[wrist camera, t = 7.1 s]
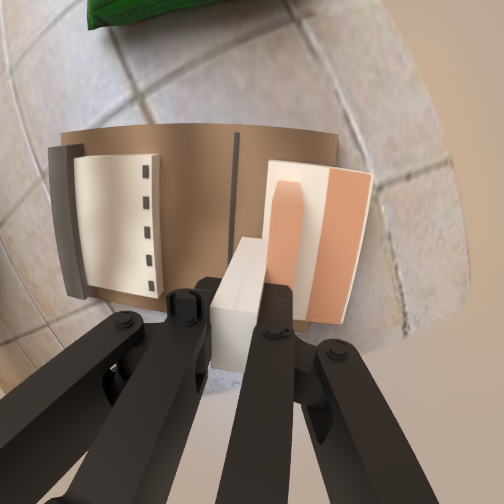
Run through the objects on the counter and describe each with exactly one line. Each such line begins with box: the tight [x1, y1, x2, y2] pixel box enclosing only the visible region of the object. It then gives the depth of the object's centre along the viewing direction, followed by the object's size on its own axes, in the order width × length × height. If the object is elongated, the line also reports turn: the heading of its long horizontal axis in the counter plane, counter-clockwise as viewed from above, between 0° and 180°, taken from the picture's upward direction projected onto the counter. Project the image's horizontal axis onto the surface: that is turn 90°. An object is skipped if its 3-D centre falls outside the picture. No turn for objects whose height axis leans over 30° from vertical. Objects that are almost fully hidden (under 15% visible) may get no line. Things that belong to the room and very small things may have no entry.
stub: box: [262, 160, 374, 324], centre depth 15 cm, size 6×10×7 cm, turn 176°
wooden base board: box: [48, 123, 338, 332], centre depth 19 cm, size 20×14×3 cm
